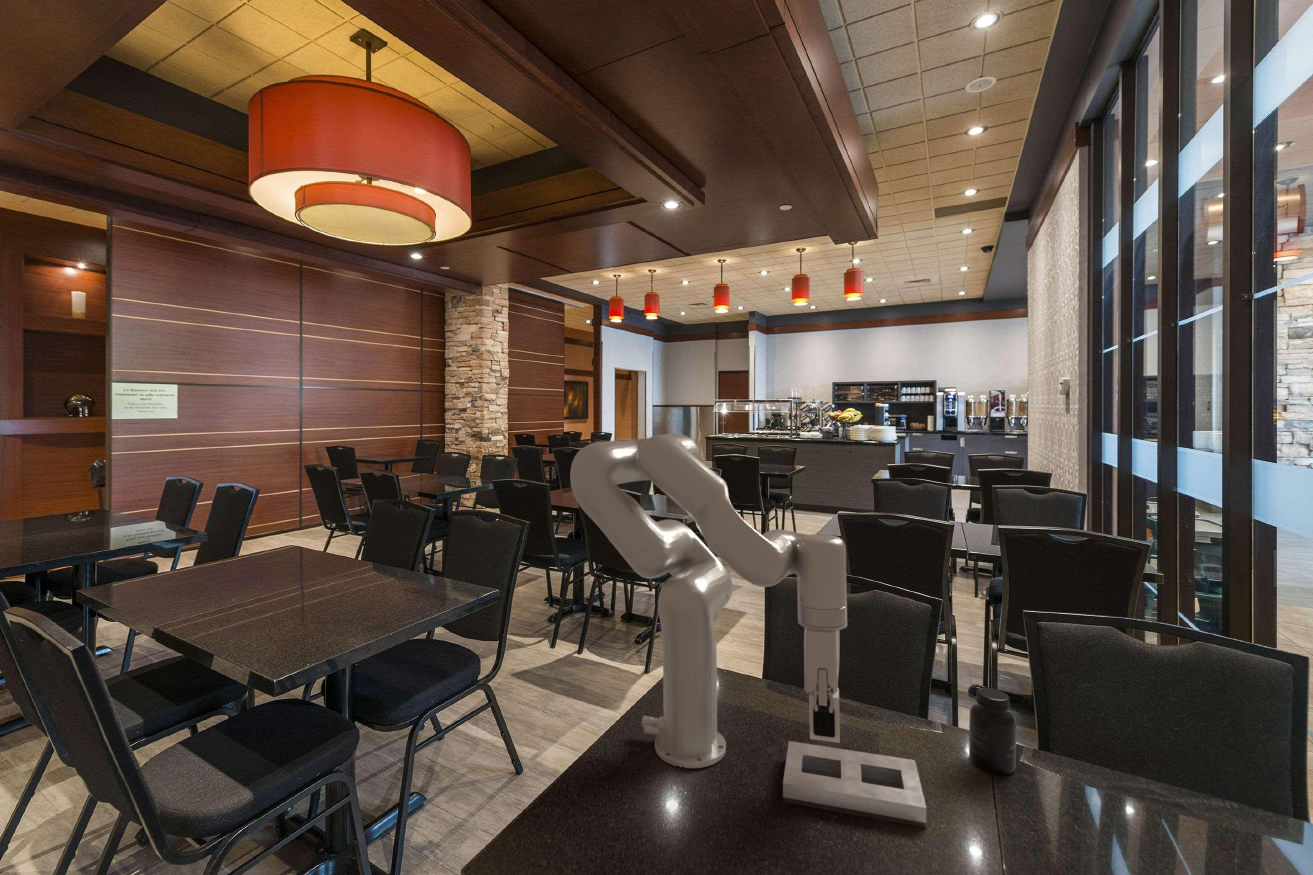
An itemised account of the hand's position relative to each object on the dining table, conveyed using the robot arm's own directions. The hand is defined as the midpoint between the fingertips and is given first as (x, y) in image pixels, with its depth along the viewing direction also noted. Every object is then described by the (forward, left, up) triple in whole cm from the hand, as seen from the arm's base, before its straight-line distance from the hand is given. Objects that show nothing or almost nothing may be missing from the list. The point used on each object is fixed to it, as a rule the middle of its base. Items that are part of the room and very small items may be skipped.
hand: (824, 727), depth 91 cm
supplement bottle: (+27, +14, -10) cm, 32 cm away
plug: (0, 0, -1) cm, 1 cm away
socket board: (+4, 0, -9) cm, 10 cm away
